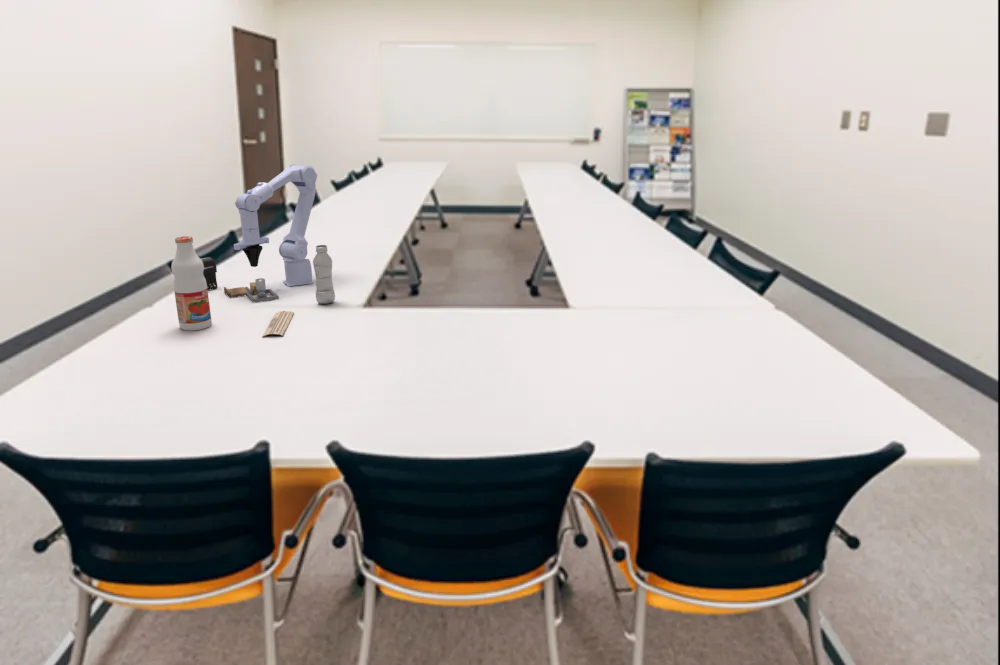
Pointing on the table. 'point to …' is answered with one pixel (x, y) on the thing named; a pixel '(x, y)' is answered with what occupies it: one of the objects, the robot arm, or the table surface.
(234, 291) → the brown flat slab
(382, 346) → the table surface
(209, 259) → the battery charger
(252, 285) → the block
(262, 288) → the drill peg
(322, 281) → the plastic bottle
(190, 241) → the fruit juice
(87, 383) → the table surface
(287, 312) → the newspaper
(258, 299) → the socket
